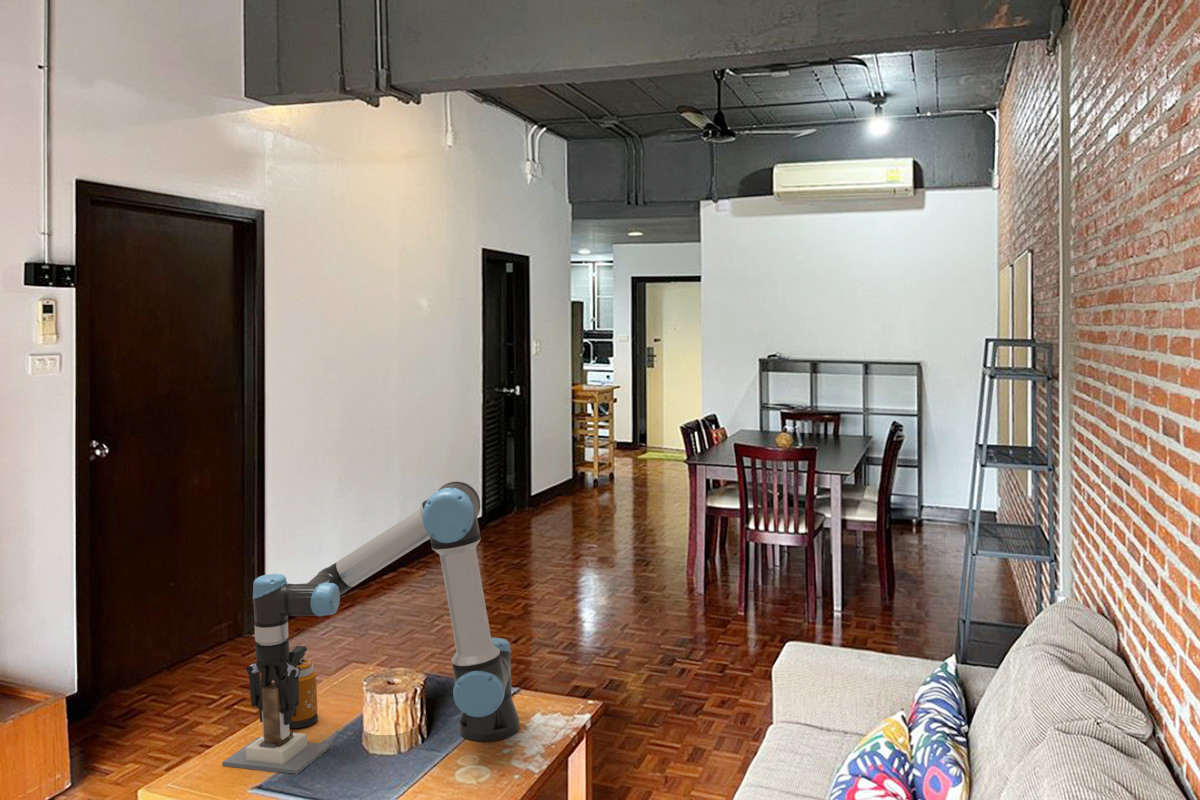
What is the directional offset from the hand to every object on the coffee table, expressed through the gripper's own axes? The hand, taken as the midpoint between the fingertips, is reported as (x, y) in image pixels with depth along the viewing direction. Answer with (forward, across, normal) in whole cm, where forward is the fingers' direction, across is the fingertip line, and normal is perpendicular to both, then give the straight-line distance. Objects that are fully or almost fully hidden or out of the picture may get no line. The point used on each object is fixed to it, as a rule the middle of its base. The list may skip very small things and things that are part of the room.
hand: (276, 736), depth 225 cm
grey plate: (+5, 0, 0) cm, 5 cm away
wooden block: (+2, 0, 0) cm, 2 cm away
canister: (+5, +6, -18) cm, 20 cm away
